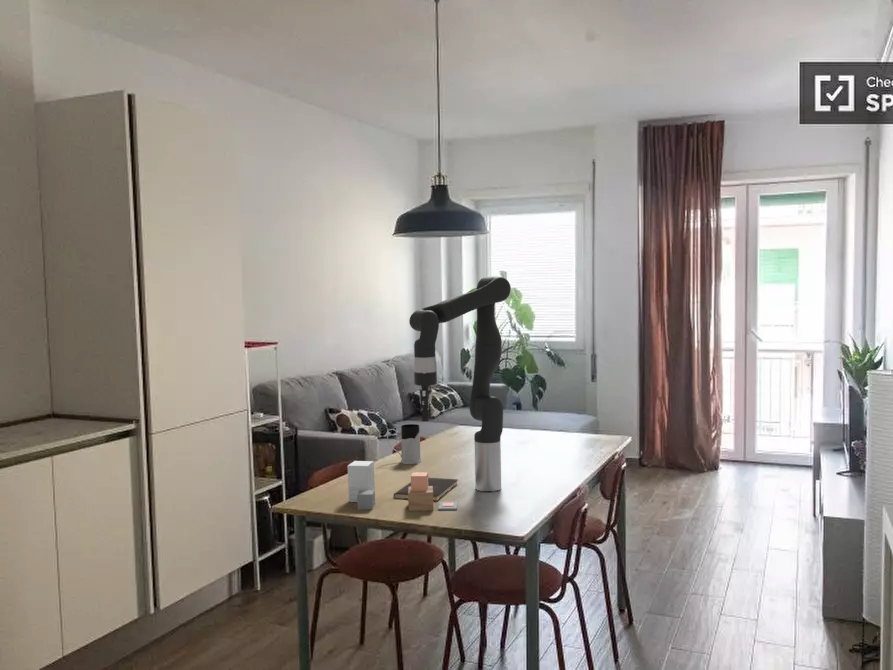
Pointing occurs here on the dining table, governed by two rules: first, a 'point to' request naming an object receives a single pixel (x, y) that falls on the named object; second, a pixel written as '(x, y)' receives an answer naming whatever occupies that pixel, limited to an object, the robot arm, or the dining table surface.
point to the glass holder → (409, 443)
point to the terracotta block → (419, 481)
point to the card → (448, 505)
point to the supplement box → (360, 478)
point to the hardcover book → (438, 487)
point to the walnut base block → (420, 499)
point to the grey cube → (366, 499)
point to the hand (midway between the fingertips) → (426, 418)
